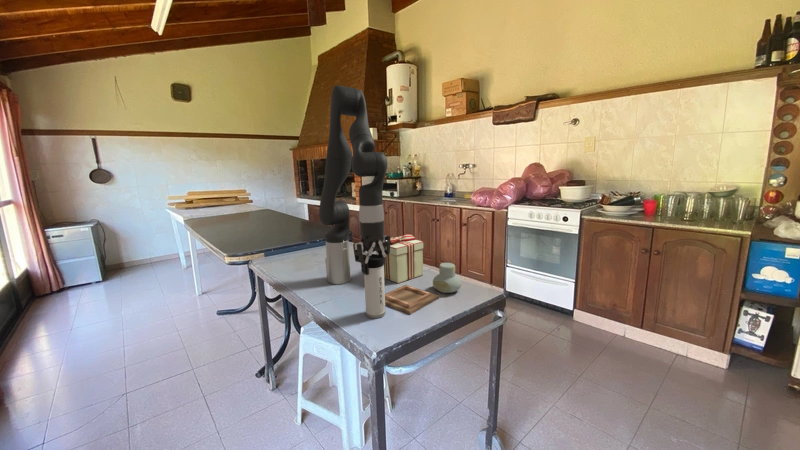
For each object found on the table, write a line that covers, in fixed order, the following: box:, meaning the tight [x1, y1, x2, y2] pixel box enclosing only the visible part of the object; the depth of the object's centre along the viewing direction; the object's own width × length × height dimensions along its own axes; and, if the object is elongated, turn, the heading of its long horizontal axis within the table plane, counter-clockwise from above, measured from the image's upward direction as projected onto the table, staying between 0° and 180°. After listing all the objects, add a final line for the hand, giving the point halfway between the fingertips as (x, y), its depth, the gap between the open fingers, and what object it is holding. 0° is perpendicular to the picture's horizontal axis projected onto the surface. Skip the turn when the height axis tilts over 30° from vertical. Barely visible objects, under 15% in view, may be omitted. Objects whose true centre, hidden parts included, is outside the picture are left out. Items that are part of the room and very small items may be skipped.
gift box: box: [375, 233, 424, 284], centre depth 138 cm, size 17×18×17 cm
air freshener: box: [432, 262, 463, 294], centre depth 122 cm, size 11×8×10 cm
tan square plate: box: [385, 284, 440, 315], centre depth 115 cm, size 16×16×2 cm
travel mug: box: [363, 253, 386, 319], centre depth 103 cm, size 6×7×20 cm
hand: (373, 271), depth 102 cm, fingers closed on travel mug, 6 cm apart
